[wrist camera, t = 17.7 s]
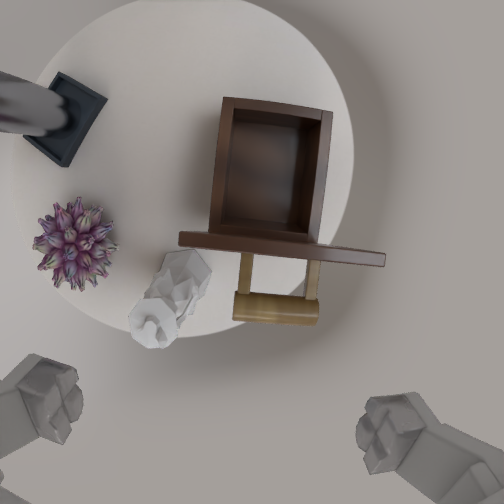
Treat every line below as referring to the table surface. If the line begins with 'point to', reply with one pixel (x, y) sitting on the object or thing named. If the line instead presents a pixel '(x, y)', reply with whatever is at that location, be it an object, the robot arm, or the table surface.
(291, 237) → the chest
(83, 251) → the flower
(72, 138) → the tray
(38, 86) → the flask
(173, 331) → the figurine
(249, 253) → the lid
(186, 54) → the table surface
